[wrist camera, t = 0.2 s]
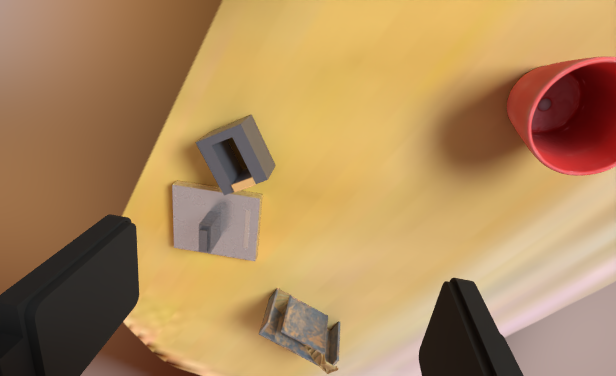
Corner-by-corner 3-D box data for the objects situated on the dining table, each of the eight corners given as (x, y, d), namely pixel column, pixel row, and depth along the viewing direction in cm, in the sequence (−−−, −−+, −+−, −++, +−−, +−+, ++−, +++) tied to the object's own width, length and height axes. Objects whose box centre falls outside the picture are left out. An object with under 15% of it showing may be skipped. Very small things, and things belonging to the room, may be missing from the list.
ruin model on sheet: (341, 318, 58) (340, 371, 49) (331, 330, 59) (327, 384, 50) (279, 284, 57) (265, 331, 48) (270, 297, 58) (255, 345, 49)
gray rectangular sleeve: (210, 131, 48) (194, 143, 43) (251, 114, 46) (239, 124, 41) (235, 180, 50) (223, 196, 45) (275, 165, 49) (267, 180, 44)
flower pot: (508, 161, 45) (547, 194, 36) (478, 79, 42) (513, 92, 33) (604, 123, 42) (671, 148, 33) (580, 31, 39) (647, 31, 30)
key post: (177, 180, 51) (155, 199, 45) (262, 194, 50) (251, 214, 45) (178, 242, 55) (158, 266, 49) (257, 255, 54) (246, 281, 49)
